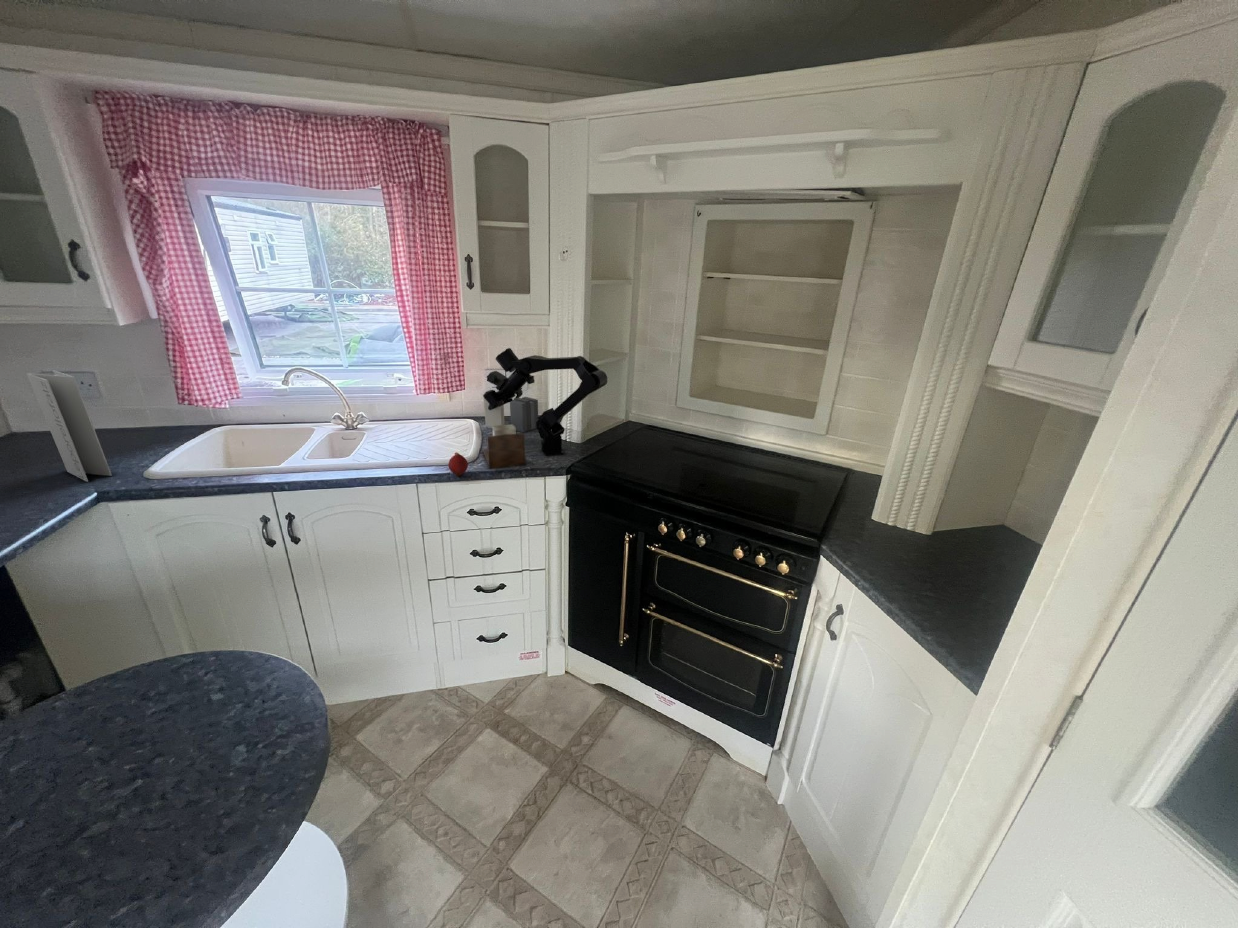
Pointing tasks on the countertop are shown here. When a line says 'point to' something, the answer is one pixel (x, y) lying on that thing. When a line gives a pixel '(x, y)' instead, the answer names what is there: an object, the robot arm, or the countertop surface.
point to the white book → (494, 415)
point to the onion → (458, 464)
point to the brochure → (69, 424)
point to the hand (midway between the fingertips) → (490, 408)
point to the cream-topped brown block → (505, 447)
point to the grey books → (524, 413)
